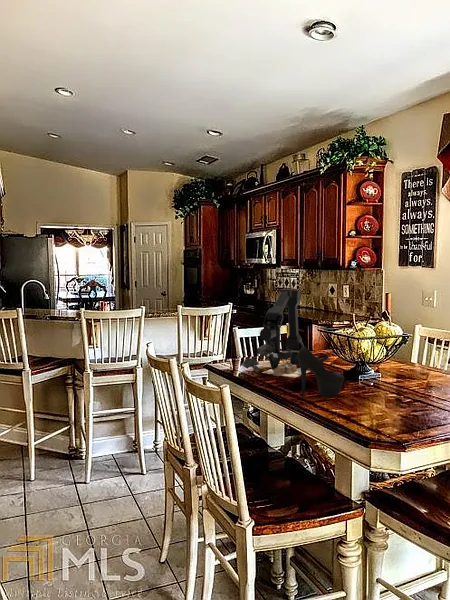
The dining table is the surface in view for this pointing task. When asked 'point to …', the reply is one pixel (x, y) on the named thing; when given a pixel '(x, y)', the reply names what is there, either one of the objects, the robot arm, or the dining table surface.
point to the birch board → (285, 374)
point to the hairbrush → (251, 363)
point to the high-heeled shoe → (319, 373)
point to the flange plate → (284, 369)
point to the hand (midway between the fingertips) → (273, 370)
